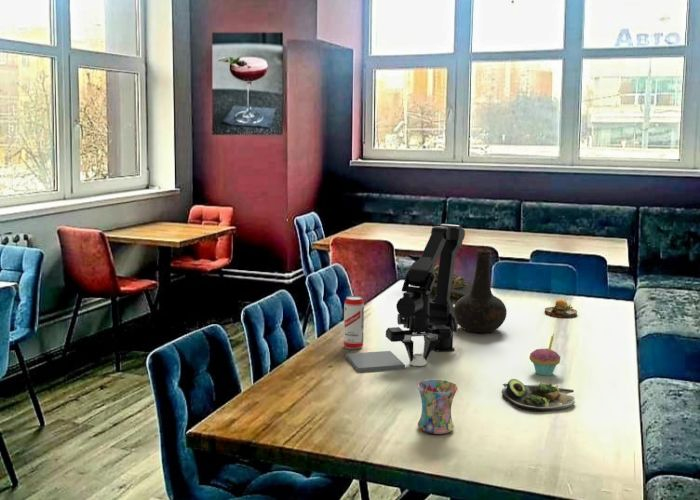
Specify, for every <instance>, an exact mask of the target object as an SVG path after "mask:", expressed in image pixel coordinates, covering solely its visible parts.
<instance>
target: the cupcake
mask: <svg viewBox="0 0 700 500" xmlns="http://www.w3.org/2000/svg"><path fill="white" fill-rule="evenodd" d="M554 335H555V333H553V334H552V335H551V337H550V341H549V345H548V348H537V349H534V350H533V351H531V353H530V354H529V360H530V362H531V363H532V364H533V367H534V371H535V374H537V375H539V376H545V377H546V376H548V377H549V376H552V375H553V374H554V372H555V369H556V367H557V365H559V364H560V362H561V356H560V355H559V354H558V352H556V351H555V350H553V349H552V346H553V342H554Z"/></svg>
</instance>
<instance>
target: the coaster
mask: <svg viewBox="0 0 700 500" xmlns="http://www.w3.org/2000/svg"><path fill="white" fill-rule="evenodd" d="M345 358H346V359H347V361H349V363H350V364H351V365H352V366H353V367H354V369H355V370H356V371H357V372H358V373H362V372H363V373H364V372H375V371H376V372H377V371H378V372H379V371H392V370H394V371H395V370H405V369H406V364H405V363H404V362H402V360H401V359H399V358H398V356H397V355H395V354H394V353H393V352H392V350H385V351H384V350H382V351H366V352H364V351H363V352H352V353H351V352H350V353H346V354H345Z"/></svg>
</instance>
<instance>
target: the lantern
mask: <svg viewBox="0 0 700 500" xmlns="http://www.w3.org/2000/svg"><path fill="white" fill-rule="evenodd" d="M409 269H410V268H407V270H406V271H405V273H406V274H407V271H408V270H409ZM438 270H439V264H437V263H436V265H435V267H434V271H435V282H434V285H433V287H432V291H431V292H430V295H431V294H432V295H433V294H436V286H437V278H438ZM406 274H405V275H406ZM465 280H467V278H463V277H462V276H459V275H457V274H455V273H453V280H452V288H451V297H453V298H458V299H460V295H462V296H465V295H467V294H468V293H469V292H470V291H471V288H472V286H473V283H470V282H465Z"/></svg>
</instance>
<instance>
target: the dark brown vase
mask: <svg viewBox="0 0 700 500" xmlns="http://www.w3.org/2000/svg"><path fill="white" fill-rule="evenodd" d="M476 252H477V253H476V255H475V257H476V265H475V266H476V267H475V272H474V276H473V277H474V279H473V283H472V284H473V286H472V288H471V291H470V292H469V293H468V294H467V295H462V296H461V297H459V298H458V300H457V301H456V302H455V305H453V307H454V315H455V317H456V319H457V322H458V327H460V328H462V329H463V330H466V331H468V332H470V333H471V332H472V333H477V334H487V333H489V334H490V333H493V332H495V331H496V330H498V329H499V328H500V327H501V326H502V325H503V324H504V322H505V320H506V318H507V312H508V311H507V307H506V304H505V303H504V302H503V300H502V299H500V298H499V297H497V296H496V295H494V294H493V293H492V288H491V268H490V267H491V266H490V265H491V259H492V258H493V255H491V252H492V251H491V250H489V249H478V250H477V251H476Z"/></svg>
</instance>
